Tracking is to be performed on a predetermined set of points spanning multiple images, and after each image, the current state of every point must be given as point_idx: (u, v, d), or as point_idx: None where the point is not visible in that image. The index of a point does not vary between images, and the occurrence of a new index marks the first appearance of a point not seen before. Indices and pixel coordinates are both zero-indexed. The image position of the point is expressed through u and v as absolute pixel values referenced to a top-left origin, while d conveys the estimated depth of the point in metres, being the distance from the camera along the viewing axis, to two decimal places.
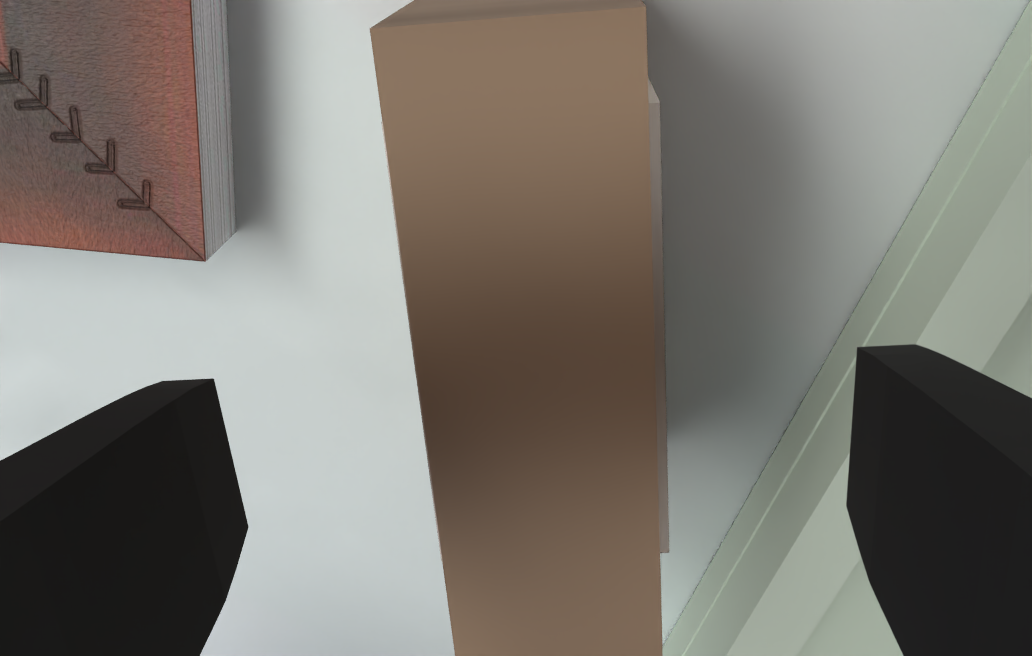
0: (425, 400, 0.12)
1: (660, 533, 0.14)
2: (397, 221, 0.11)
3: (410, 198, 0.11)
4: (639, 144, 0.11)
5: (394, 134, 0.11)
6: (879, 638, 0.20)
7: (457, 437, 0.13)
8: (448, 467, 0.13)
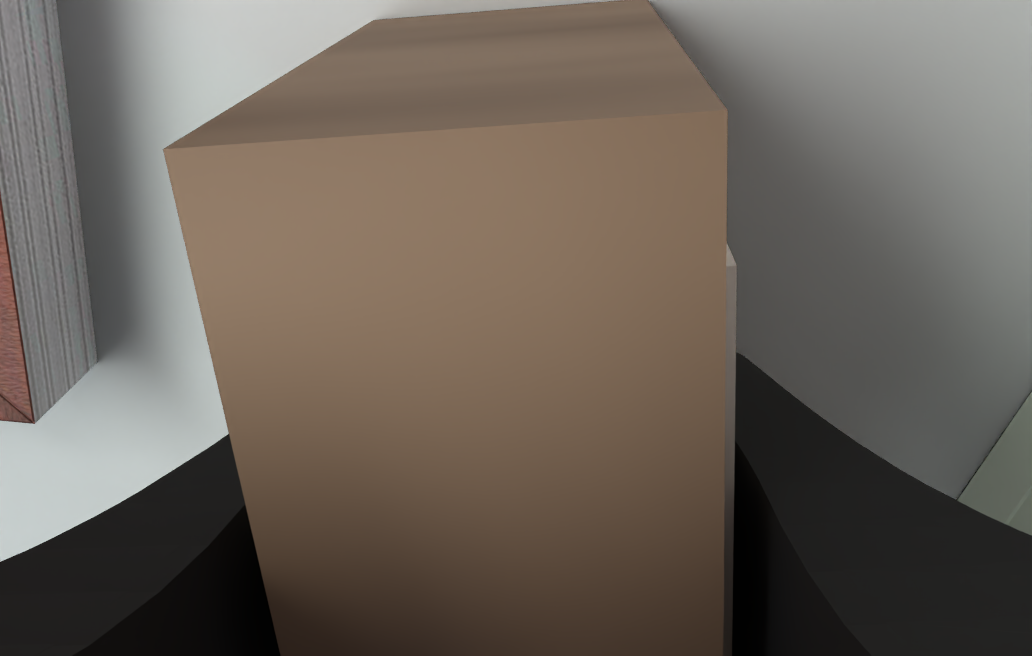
0: None
1: None
2: (246, 492, 0.06)
3: (267, 455, 0.06)
4: (705, 368, 0.06)
5: (228, 344, 0.06)
6: None
7: None
8: None
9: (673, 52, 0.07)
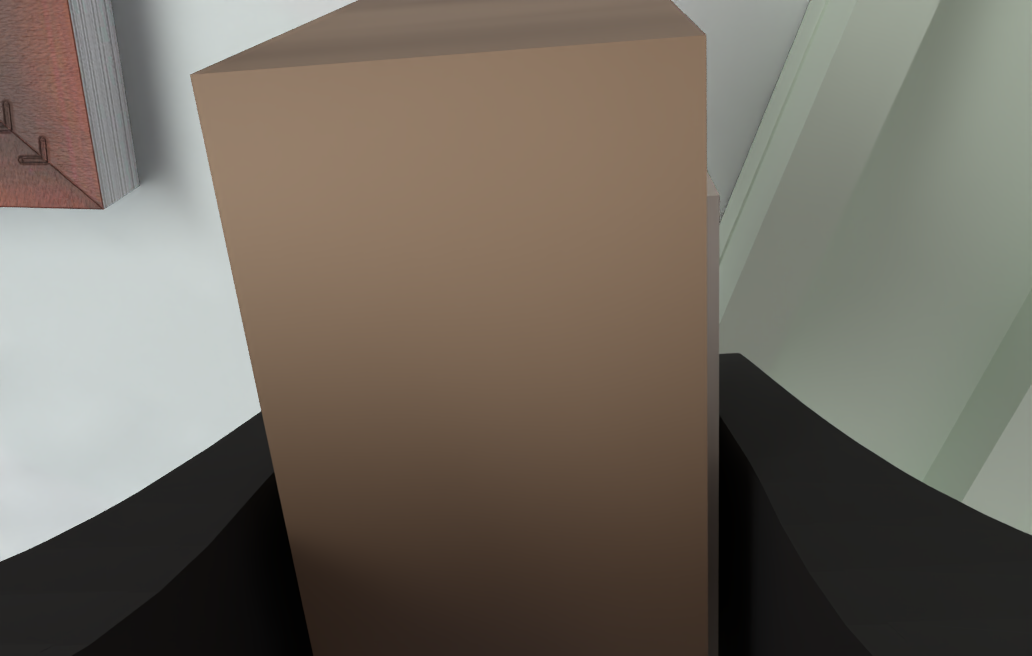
0: None
1: None
2: (263, 404, 0.07)
3: (282, 368, 0.06)
4: (688, 282, 0.06)
5: (248, 261, 0.06)
6: None
7: None
8: None
9: (661, 2, 0.07)
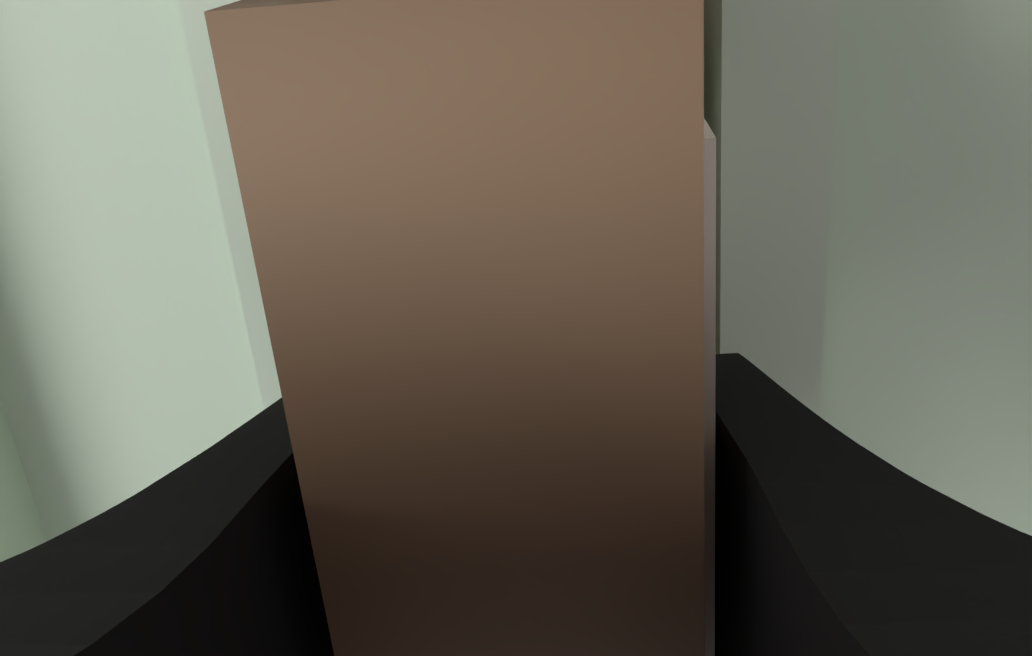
0: (332, 613, 0.08)
1: None
2: (273, 339, 0.07)
3: (292, 303, 0.07)
4: (686, 216, 0.06)
5: (259, 196, 0.06)
6: None
7: None
8: None
9: None
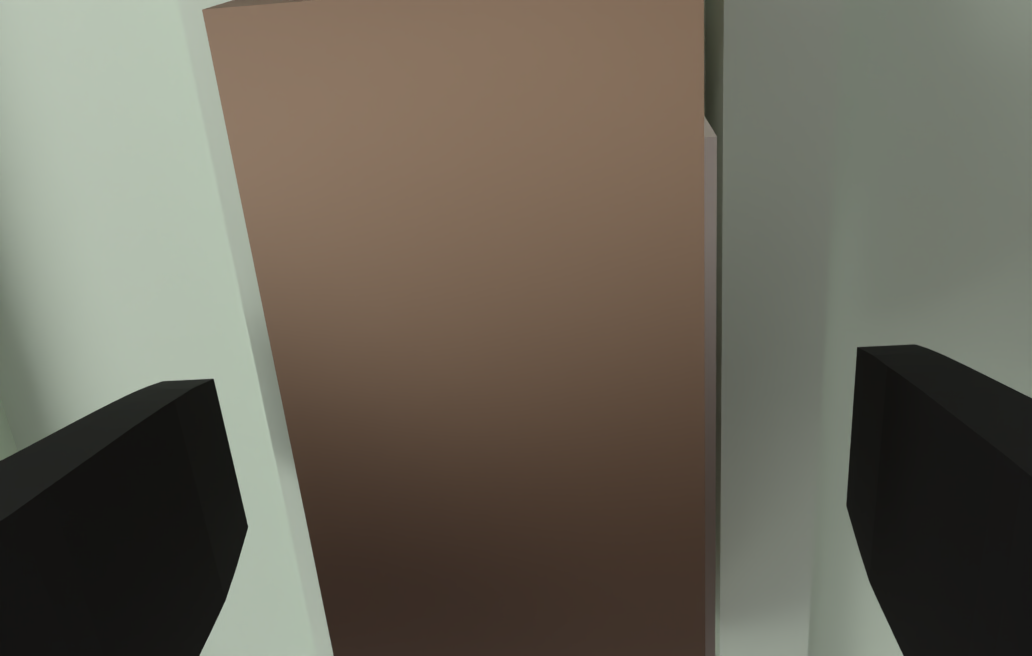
0: (332, 613, 0.08)
1: None
2: (272, 339, 0.07)
3: (291, 302, 0.07)
4: (686, 215, 0.06)
5: (258, 195, 0.06)
6: (215, 646, 0.16)
7: None
8: None
9: None
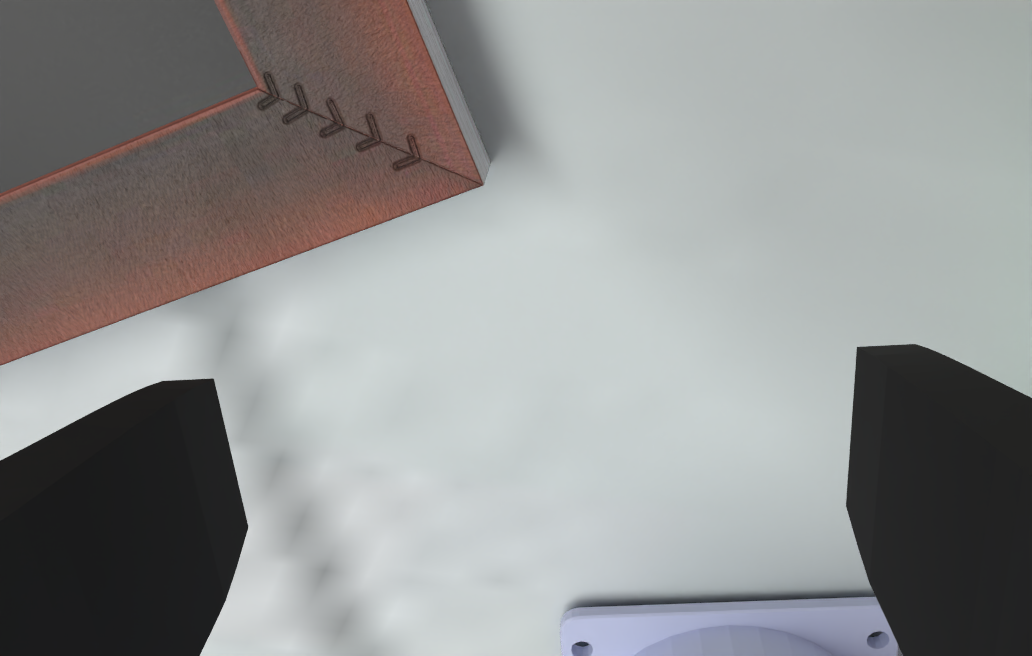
0: None
1: None
2: None
3: None
4: None
5: None
6: None
7: None
8: None
9: None
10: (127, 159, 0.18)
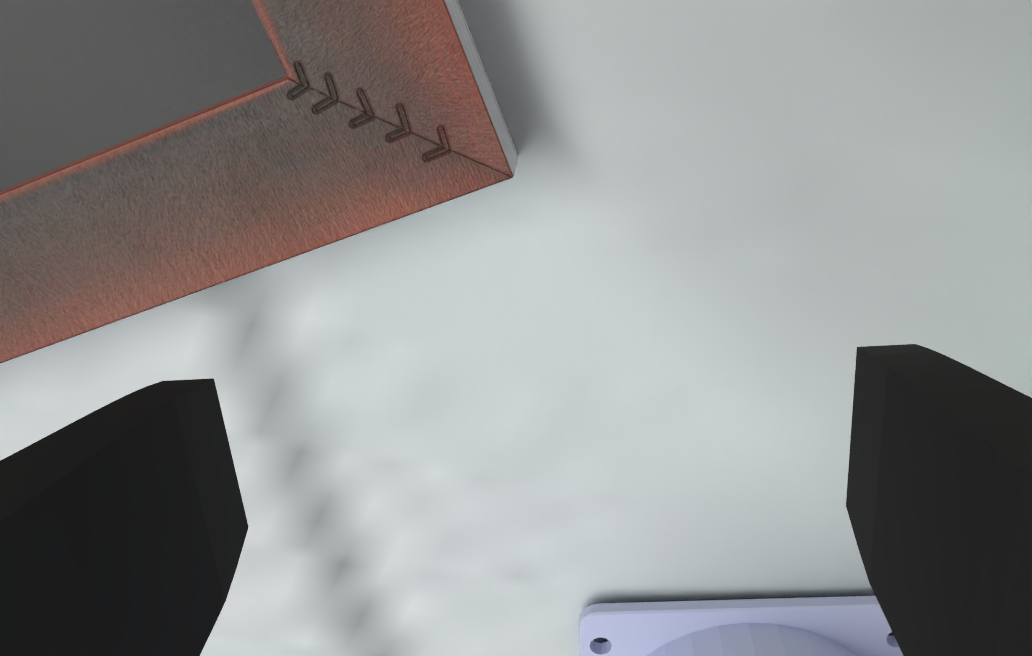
0: None
1: None
2: None
3: None
4: None
5: None
6: None
7: None
8: None
9: None
10: (154, 148, 0.18)
